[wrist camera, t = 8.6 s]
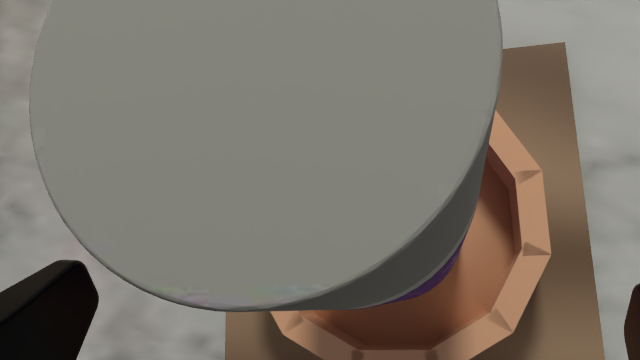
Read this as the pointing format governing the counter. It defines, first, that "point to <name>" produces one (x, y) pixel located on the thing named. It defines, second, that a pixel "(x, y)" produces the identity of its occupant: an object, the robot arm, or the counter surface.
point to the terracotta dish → (453, 278)
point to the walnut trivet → (563, 223)
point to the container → (268, 143)
